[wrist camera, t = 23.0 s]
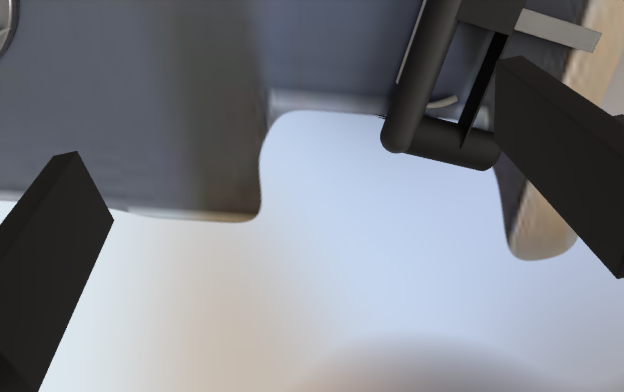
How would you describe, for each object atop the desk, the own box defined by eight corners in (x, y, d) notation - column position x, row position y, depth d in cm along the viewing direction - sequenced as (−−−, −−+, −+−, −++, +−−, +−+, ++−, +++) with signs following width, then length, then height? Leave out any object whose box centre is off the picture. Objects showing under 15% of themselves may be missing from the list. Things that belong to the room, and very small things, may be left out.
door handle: (648, -44, 36) (458, -114, 33) (530, 188, 44) (368, 151, 41) (619, -44, 39) (441, -108, 36) (513, 174, 47) (360, 138, 44)
